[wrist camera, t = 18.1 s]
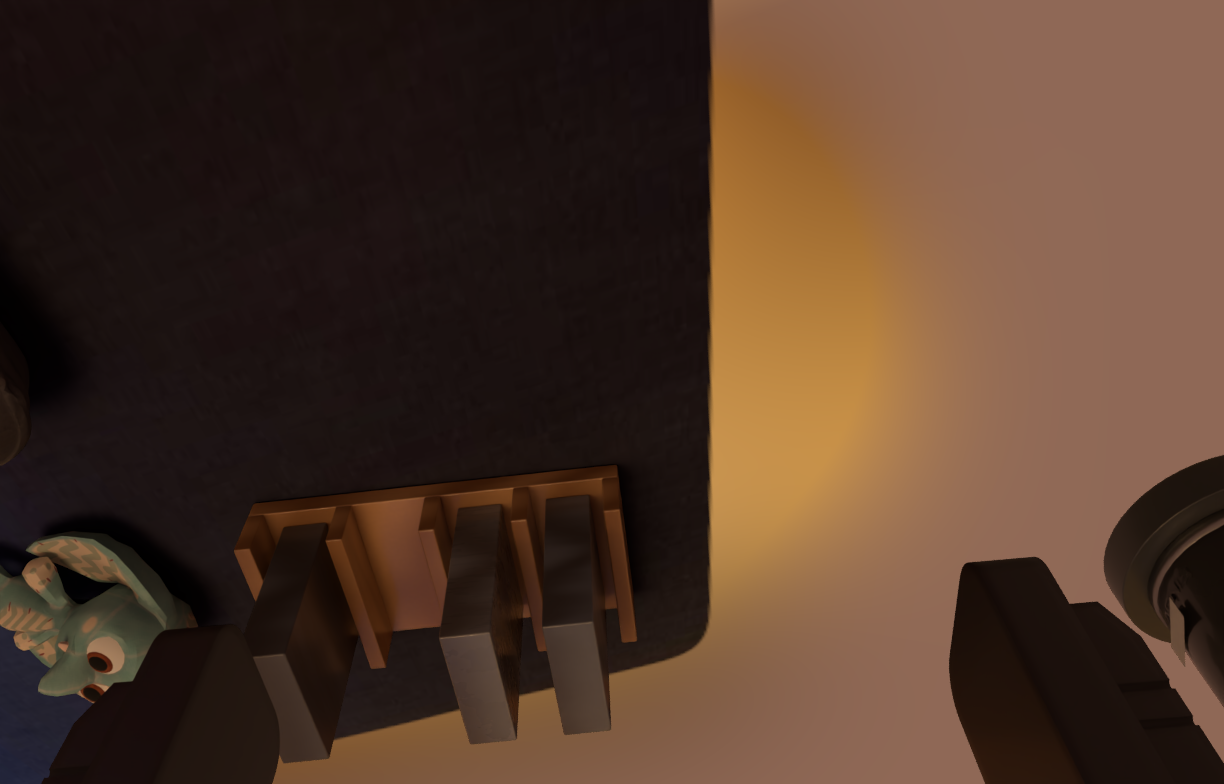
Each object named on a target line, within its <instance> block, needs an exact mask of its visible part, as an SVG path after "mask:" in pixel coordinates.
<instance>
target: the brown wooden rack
mask: <svg viewBox="0 0 1224 784" xmlns="http://www.w3.org/2000/svg"><path fill="white" fill-rule="evenodd" d="M234 553H235V555H236V557H237V560H238V562H239V564H240V567H241V569H242V571H243V574H244V576H245V578H246V580H247V583H248V585H249V587H250V590H251V592H252V594H253V597H254V599H255V601H256V603H255V605H254V608H253V611H252V613H251V616H250V619H249V621H248V624H247V627H246V630H245V632H244V637H245V640H246V642H247V645H248V647H249V649H250V652H251V654H252V656H253V659H254V661H255V663H256V666H257V668H258V671H259V673H260V675H261V678H262V680H263V682H264V685H265V687H266V689H267V692H268V694H269V697H270V699H271V701H272V704H273V706H274V708H275V711H276V714H277V718H278V722H279V730H280V751H279V755H280V757H281V759H282V761H283V763H291V762H301V761H311V760H320V759H328V758H329V757H330V752H331V748H332V744H333V740H334V736H335V731H336V727H337V723H338V719H339V715H340V711H341V706H342V702H343V698H344V694H345V690H346V685H347V681H348V677H349V673H350V669H351V665H352V660H353V656H354V652H355V648H356V644H357V639H358V635H359V636H360V639H361V641H362V644H363V647H364V650H365V653H366V655H367V658H368V661H369V664H370V667H371V669H375V668H384V667H386V664H387V659H388V654H389V649H390V644H391V639H392V634H393V631H400V630H409V629H419V628H428V627H438V626H441V627H440V634H439V640H440V643H441V647H442V650H443V654H444V657H445V660H446V664H447V667H448V671H449V674H450V677H451V681H452V684H453V688H454V691H455V694H456V698H457V701H458V705H459V708H460V711H461V715H462V718H463V722H464V725H465V728H466V731H467V735H468V739H469V742H470V744H480V743H490V742H499V741H510V740H516V739H517V723H518V703H519V685H520V665H521V646H522V627H523V618H525V617H531V620H532V625H533V629H534V634H535V639H536V643H537V648H538V651H547V654H548V659H549V664H550V669H551V674H552V679H553V683H554V688H555V693H556V698H557V703H558V707H559V712H560V717H561V722H562V727H563V732H564V734H565V735H570V734H580V733H589V732H599V731H609V730H611V716H610V695H609V672H608V650H607V628H606V609H611V608H617V611H618V618H619V625H620V631H621V638H622V642H623V643H625V642H635V641H637V631H636V618H635V606H634V593H633V585H632V578H631V570H630V562H629V554H628V547H627V539H626V531H625V523H624V516H623V508H622V500H621V493H620V485H619V477H618V469H617V465H608V466H599V467H590V468H580V469H571V470H562V471H553V472H543V473H534V474H525V475H515V476H506V477H497V478H488V479H478V480H469V481H460V482H450V483H441V484H432V485H422V486H413V487H404V488H395V489H385V490H376V491H367V492H357V493H348V494H339V495H330V496H320V497H311V498H302V499H292V500H283V501H274V502H265V503H255V504H253V506H252V509H251V511H250V513H249V517H248V518H247V520H246V523H245V525H244V527H243V530H242V532H241V535H240V537H239V539H238V542H237V544H236V546H235V549H234Z"/></svg>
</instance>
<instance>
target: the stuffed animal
mask: <svg viewBox="0 0 1224 784" xmlns="http://www.w3.org/2000/svg"><path fill="white" fill-rule="evenodd" d="M26 551H28V552H30V553H32V554H34V555H37V556H39V558H35V559H33V560H31V561H30V562H28V563H27V565H26V566H25V568H24V570H23V572H22V575H19V576H15V577H13V576H12V575H10V574H9V573H8V572H7V571H6V570H5V569H4V568H3V567H2V566H1V565H0V626H2V627H4V628H6V629H8V630H13V631H16V632H15V636H14V640H15V644H16V646H17V647H18V648H20V649H21V650H23V651H24V650H30V651H31V652H32V653H33V654H34V655H35V656H36V657H37V658H38V659H39V660H40V661H41V662H42V663H43V664H45V665H47V666H48V667H50V668H51V669H50V670H49V671H48V672H47V673H46V675H45V676H44V677H42V678H41V681H40V683H39V686H38V691H39V692H41V693H43V694H45V695H51V696H56V697H57V696H62V695H68V694H74V693H77V694H78V695H80V696H82V697H84V698H86V699H87V700H89V701H91V702H93V703H95V702H96V701H97V700H98V699H99V697H100V696H101V695H102V694H103V693H104V692H105V691H106V690H107V689H108V688H109V687H110V686H111V685H112V684H113V683H116V682H128V681H133V679H134V677H135V675H136V673H137V671H138V669H139V667H140V666H141V664H142V662H143V660H144V658H145V656H146V654H147V652H148V650H149V648H150V646H151V644H152V642H153V641H154V639H155V638H156V636H157V635H158V634H159V633H161V632H162V631H164V630H169V629H181V628H192V627H198V625H197V622H196V620H195V617H194V615H193V613H192V610H191V608H190V605H189V604H187V603H185V602H184V601H182V600H180V599H179V598H177V597H176V596H174V595H172V594H171V593H170V592H169V591H168V589H167V588H166V586H165V584H164V583H163V581H162V580H161V578H160V576H159V575H158V574H157V573H156V572H155V571H154V570H153V569H152V568H151V567H150V566H148V565H147V564H146V563H145V562H144V561H143V559H142V558H141V557H140V556H139V555H138V554H137V553H136V552H135V551H134V550H133V548H132V547H129V546H127V545H125V544H122V543H120V542H118V541H116V540H114V539H113V538H112V537H110V536H109V535H107V534H103V533H90V532H77V531H70V532H65V533H60V534H54V535H49V536H44V537H41V538H39V539H38V540H36V541H35V542H33V543H32V544H30V545H29V546H28V547H27V549H26ZM51 561H52V562H54V563H57V564H59V565H62V566H64V567H67V568H69V569H71V570H73V571H75V572H77V573H80V574H82V575H84V576H86V577H88V578H91V579H93V580H95V581H97V582H106V583H119V584H117V585H115V586H113V587H112V588H110V589H109V590H107V591H105V592H104V593H102V594H101V595H99V596H97V597H95V598H93V599H91V600H90V601H88V602H86V603H84V604H76V603H75V602H74V601H73V600H72V599H71V598H70V597H69V596H68V595H67V594H66V593H65V591H64V588H63V585H62V582H61V579H60V577H59V574H58V571H57V568H56V567H55V565H54V564H53V563H52V562H51Z"/></svg>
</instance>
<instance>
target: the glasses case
mask: <svg viewBox="0 0 1224 784" xmlns="http://www.w3.org/2000/svg"><path fill="white" fill-rule="evenodd" d="M28 389H29V368H28V364H27V361H26V359H25V357H24V355H23V353H22V351H21V350H20V348H19V347H18V345H17V344H16V342H15V341H14V339H13V338H12V337H11V335H10V334H9V333H8V331H7V330H6V328H5V327H4V326H3V324H2V323H1V322H0V466H1V465H3V464H5V463H7V462H9V461H10V460H11V459H13V458H14V457H15V456H16V455H18V454H19V453H20V451H21V450H22V449H23V448H24V447H25V446H26V444H27V442H28V440H29V437H30V434H31V418H30V414H29V409H30V401H29V395H28Z"/></svg>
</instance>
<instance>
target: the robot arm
mask: <svg viewBox="0 0 1224 784" xmlns="http://www.w3.org/2000/svg"><path fill="white" fill-rule="evenodd" d="M1148 596H1149V601H1150V603H1151V606H1152V608H1153V609H1154V611H1155V612H1156V614H1157V615H1158V617H1159V618H1160V619H1161V621H1162V622H1163V623H1164V625H1165V626H1166V627H1168V628H1169V630H1170V631H1171V647H1172V649H1173V650H1174V652H1175V653H1176V655H1177V656H1178V658H1179V659H1180V660H1181V662H1182V663H1183V665H1184V666H1185V652H1186V653H1187V655H1188V656H1189V657H1190V659H1191V660H1192V662H1193V664H1194V665H1195V667H1196V668H1197V670H1198V671H1199V672H1200V674H1201V675H1202V677H1203V678H1204V680H1205V681H1206V682H1207V684H1208V685H1209V687H1210V688H1211V690H1212V691H1213V693H1214V694H1215V695H1216V697H1217V698H1218V700H1219V701H1220V703H1221V704H1222V706H1223V707H1224V509H1223V510H1221V511H1218V512H1216V513H1214V514H1212V515H1210V516H1208V517H1206V518H1204V519H1202V520H1201V521H1199V522H1197V523H1196V524H1194V525H1193V526H1191V527H1190V528H1188V529H1187V530H1186V531H1184V532H1183V533H1182V534H1181V535H1179V536H1178V537H1177V538H1176V539H1175V540H1174V541H1173V542H1172V543H1171V544H1170V545H1169V546H1168V547H1167V548H1166V549H1165V551H1164V552H1163V553H1162V554H1161V556H1160V557H1159V559H1158V560H1157V562H1156V564H1155V565H1154V568H1153V570H1152V572H1151V575H1150V578H1149V583H1148ZM949 673H950V683H951V689H952V695H953V699H954V703H955V707H956V710H957V713H958V716H959V719H960V722H961V724H962V727H963V729H964V732H965V734H966V736H967V739H968V742H969V744H970V747H971V749H972V752H973V754H974V757H975V759H976V762H977V764H978V767H979V769H980V772H981V774H982V776H983V779H984V782H985V784H1224V763H1223V762H1222V760H1221V758H1220V757H1219V755H1218V754H1217V752H1216V751H1215V749H1214V748H1213V746H1212V744H1211V743H1210V741H1209V740H1208V738H1207V737H1206V735H1205V734H1204V732H1203V731H1202V729H1201V728H1200V726H1199V725H1195V724H1194V722H1193V715H1192V714H1191V712H1190V711H1189V709H1188V708H1187V706H1186V705H1185V703H1184V702H1183V700H1182V698H1181V697H1180V695H1179V694H1178V692H1177V691H1176V689H1172V688H1171V687H1170V684H1169V678H1168V677H1167V675H1166V674H1165V672H1164V671H1163V669H1162V668H1161V666H1160V665H1159V663H1158V662H1157V660H1156V659H1155V657H1154V655H1153V654H1152V652H1151V651H1150V650H1149V648H1148V647H1147V645H1146V643H1145V642H1144V640H1143V639H1142V637H1141V636H1140V635H1138V634H1137V633H1136V632H1135V631H1133V630H1132V629H1131V628H1130V627H1128V626H1127V625H1126V624H1125V623H1123V622H1122V621H1121V620H1120V619H1118V618H1117V617H1116V616H1115V615H1113V614H1112V613H1111V612H1110V611H1108V610H1107V609H1106V608H1105V607H1103V606H1102V605H1101V604H1100V603H1098V602H1086V603H1075V604H1069V602H1068V601H1067V599H1066V597H1065V595H1064V594H1063V592H1062V590H1061V589H1060V587H1059V585H1058V584H1057V582H1056V580H1055V578H1054V577H1053V575H1052V573H1051V572H1050V570H1049V569H1048V567H1047V566H1046V564H1045V563H1044V562H1043V561H1042V560H1041V559H1039V558H1037V557H1028V558H1016V559H1005V560H994V561H981V562H970V563H966V564H965V565H964V566H963V568H962V571H961V575H960V581H959V589H958V597H957V604H956V611H955V620H954V627H953V635H952V642H951V649H950V658H949ZM279 751H280V730H279V722H278V718H277V714H276V711H275V708H274V706H273V704H272V701H271V699H270V697H269V694H268V692H267V689H266V687H265V685H264V682H263V680H262V678H261V675H260V673H259V671H258V668H257V666H256V663H255V661H254V659H253V656H252V654H251V652H250V649H249V647H248V645H247V642H246V640H245V637H244V635H243V633H242V632H241V630H240V629H239V628H238V627H237V626H236V625H233V624H227V625H215V626H204V627H192V628H181V629H169V630H164V631H162V632H161V633H159V634H158V635H157V636H156V638H155V639H154V641H153V642H152V644H151V646H150V648H149V650H148V652H147V654H146V656H145V658H144V660H143V662H142V664H141V666H140V667H139V669H138V671H137V673H136V675H135V677H134V679H133V681H128V682H116V683H113V684H112V685H111V686H110V687H109V688H108V689H107V690H106V691H105V692H104V693H103V694H102V695H101V696H100V697H99V699H98V700H97V701H96V702H95V703H94V704H93V705H92V706H91V707H90V708H89V709H88V710H87V711H86V712H85V713H84V714H83V715H82V716H81V717H80V718H79V719H78V720H77V721H76V722H75V723H74V725H73V726H72V728H71V730H70V732H69V734H68V736H67V737H66V739H65V741H64V743H63V745H62V747H61V748H60V750H59V752H58V754H57V756H56V758H55V759H54V761H53V763H52V765H51V767H50V769H49V770H50V775H49V778H44V780H43V781H42V783H41V784H272V782H273V779H274V776H275V772H276V769H277V764H278V759H279Z"/></svg>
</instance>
